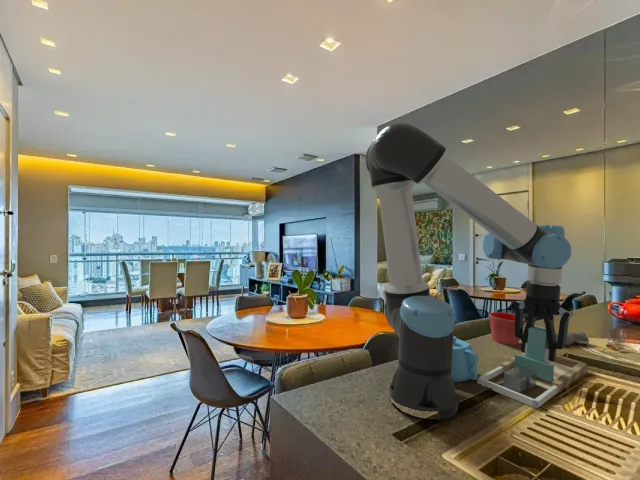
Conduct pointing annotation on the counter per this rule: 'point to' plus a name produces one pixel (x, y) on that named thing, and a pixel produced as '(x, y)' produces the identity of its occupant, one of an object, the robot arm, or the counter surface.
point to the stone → (575, 338)
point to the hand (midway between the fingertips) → (536, 368)
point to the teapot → (463, 361)
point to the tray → (513, 394)
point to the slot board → (556, 371)
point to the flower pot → (503, 328)
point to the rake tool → (536, 354)
